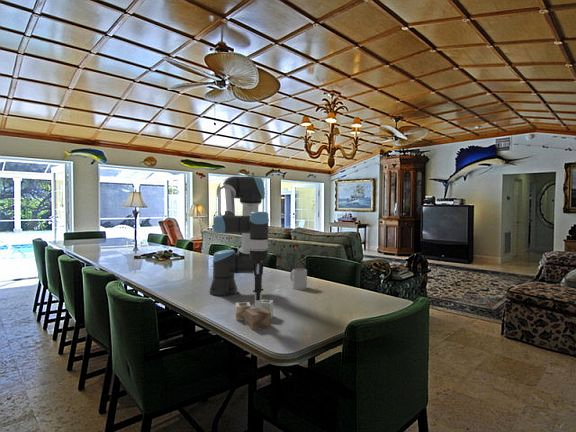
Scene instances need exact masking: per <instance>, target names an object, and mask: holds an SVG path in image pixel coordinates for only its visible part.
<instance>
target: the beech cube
mask: <svg viewBox="0 0 576 432" xmlns="http://www.w3.org/2000/svg"><path fill="white" fill-rule="evenodd" d="M251 306H252V305H251V304H250V301H243V302H235V315H236V316H235V321H236V320H237V321H242V320H241V319H245V310H246V309H252V308H251Z"/></svg>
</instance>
